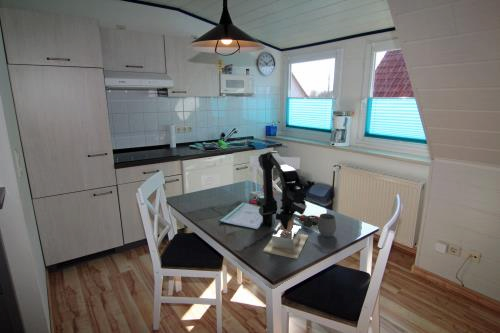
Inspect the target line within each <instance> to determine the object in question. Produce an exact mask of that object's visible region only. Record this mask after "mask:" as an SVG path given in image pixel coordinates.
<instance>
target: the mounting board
mask: <svg viewBox="0 0 500 333" xmlns="http://www.w3.org/2000/svg"><path fill="white" fill-rule="evenodd" d="M308 238H309V235H308V234H303V233H301V237H300V240H299V241H298V243H297V245H296V247H295V249H294V251H288V250H283V249H278V248H274V247H272V238H270V240H269V242H268V243H267V245H266V246H265V247H264V249H263V250H262V252H263V253H268V254H272V255H276V256H277V255H278V256H281V257H286V258H291V259H296V260H298V258H299V257H300V254H301V252H302V250H303V249H304V246H305V244H306V243H307V240H308Z"/></svg>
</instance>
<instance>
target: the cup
mask: <svg viewBox="0 0 500 333" xmlns="http://www.w3.org/2000/svg"><path fill="white" fill-rule="evenodd" d="M318 217H319V221H318V225H317V226H316V229H317V231H318V232H319V234H320V236H323V237H326V238H328V237H332V236H333V235H334V234H335V232H336V230H337V223H336V222H337V221H336V216H335V215H333V214H332V213H321V214H319V216H318Z"/></svg>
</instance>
